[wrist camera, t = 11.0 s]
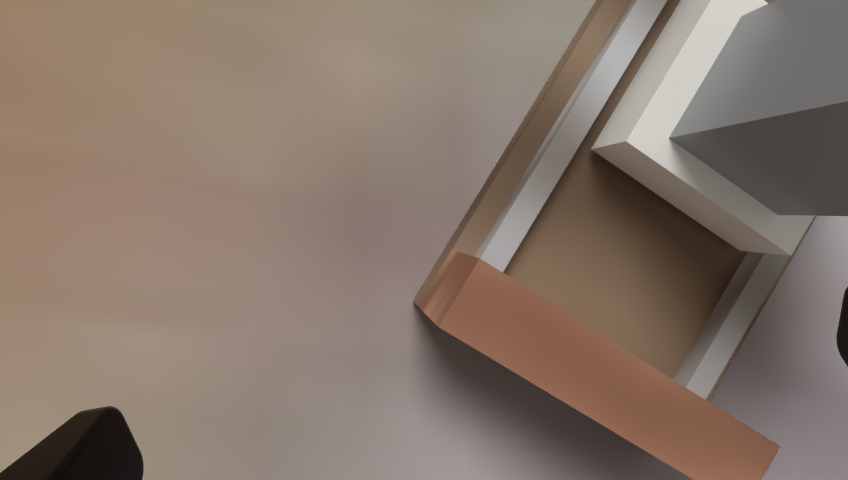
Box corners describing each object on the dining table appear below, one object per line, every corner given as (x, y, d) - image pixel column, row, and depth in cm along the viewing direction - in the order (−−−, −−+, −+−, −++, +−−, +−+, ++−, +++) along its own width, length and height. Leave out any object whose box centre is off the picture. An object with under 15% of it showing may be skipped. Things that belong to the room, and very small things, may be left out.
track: (658, 448, 22) (743, 510, 18) (412, 301, 20) (438, 326, 16) (996, -130, 23) (1158, -212, 19) (788, -314, 21) (910, -452, 17)
